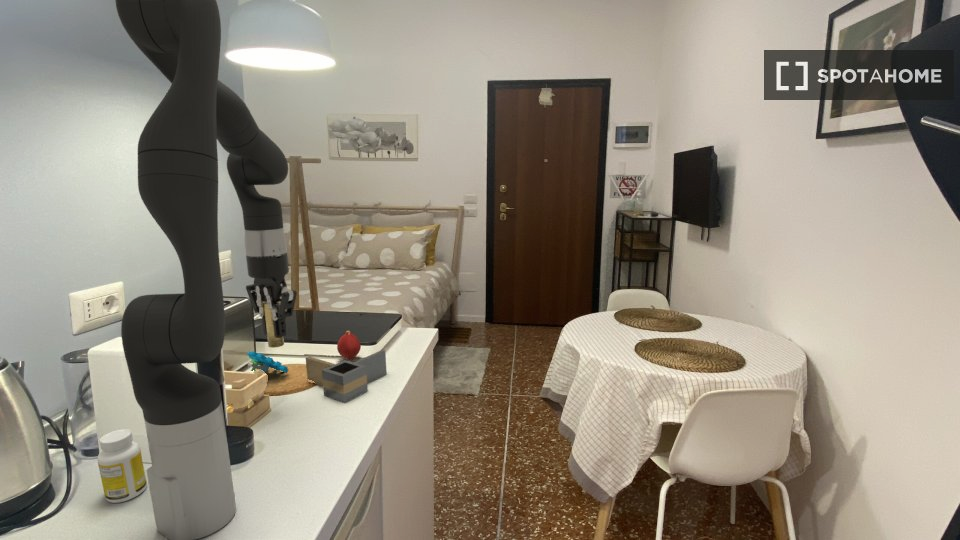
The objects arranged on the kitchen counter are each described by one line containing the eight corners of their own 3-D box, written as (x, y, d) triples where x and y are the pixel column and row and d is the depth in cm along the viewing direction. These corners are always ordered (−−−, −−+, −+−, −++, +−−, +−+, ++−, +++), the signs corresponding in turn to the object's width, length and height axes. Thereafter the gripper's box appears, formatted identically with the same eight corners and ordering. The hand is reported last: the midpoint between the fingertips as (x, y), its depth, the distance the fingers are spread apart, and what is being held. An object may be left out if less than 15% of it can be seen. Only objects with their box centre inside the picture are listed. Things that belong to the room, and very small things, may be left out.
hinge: (344, 403, 107) (342, 376, 106) (297, 386, 115) (295, 361, 114) (395, 376, 120) (394, 352, 118) (349, 363, 128) (347, 341, 127)
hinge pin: (274, 348, 101) (269, 305, 99) (265, 345, 103) (260, 303, 101) (287, 344, 104) (283, 301, 102) (278, 341, 105) (273, 299, 103)
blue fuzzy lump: (297, 369, 121) (264, 350, 114) (285, 392, 118) (250, 374, 111) (273, 365, 127) (240, 346, 121) (260, 387, 125) (226, 369, 118)
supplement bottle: (140, 477, 82) (130, 422, 80) (152, 490, 79) (142, 433, 77) (100, 494, 78) (89, 437, 76) (111, 509, 75) (100, 449, 73)
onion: (336, 358, 132) (334, 328, 130) (358, 354, 134) (356, 325, 132) (340, 366, 127) (338, 335, 125) (363, 361, 129) (361, 332, 127)
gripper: (228, 251, 100) (238, 334, 104) (271, 257, 92) (280, 347, 96) (262, 246, 106) (270, 325, 110) (305, 251, 99) (313, 335, 102)
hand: (275, 335), depth 103 cm, fingers closed on hinge pin, 3 cm apart
